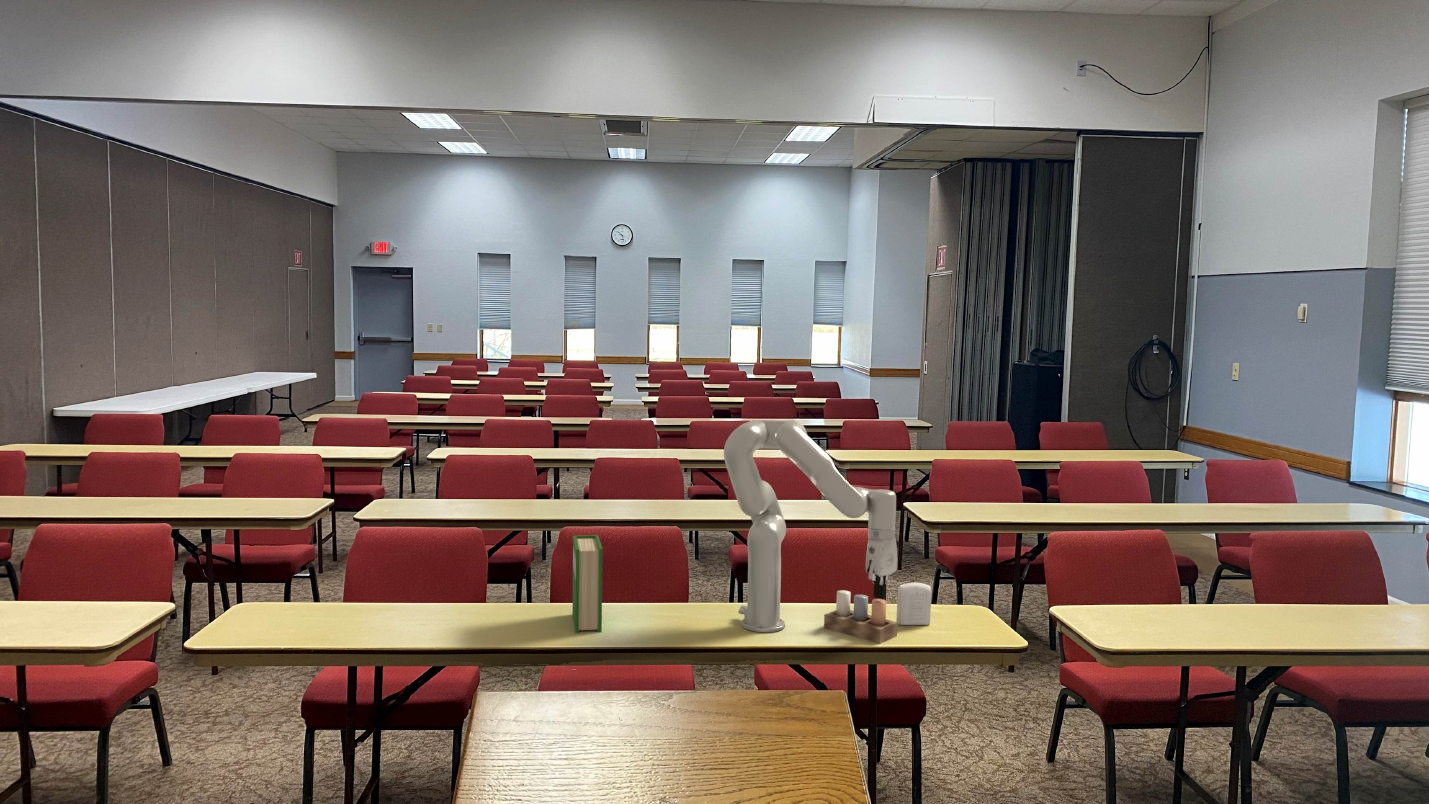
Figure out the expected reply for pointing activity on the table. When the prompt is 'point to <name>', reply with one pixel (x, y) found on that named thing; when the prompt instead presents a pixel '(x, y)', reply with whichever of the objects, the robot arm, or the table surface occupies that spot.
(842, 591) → the white peg
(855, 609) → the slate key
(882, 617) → the salmon orange cylinder
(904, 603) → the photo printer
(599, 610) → the hardback book
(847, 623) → the wooden peg holder
